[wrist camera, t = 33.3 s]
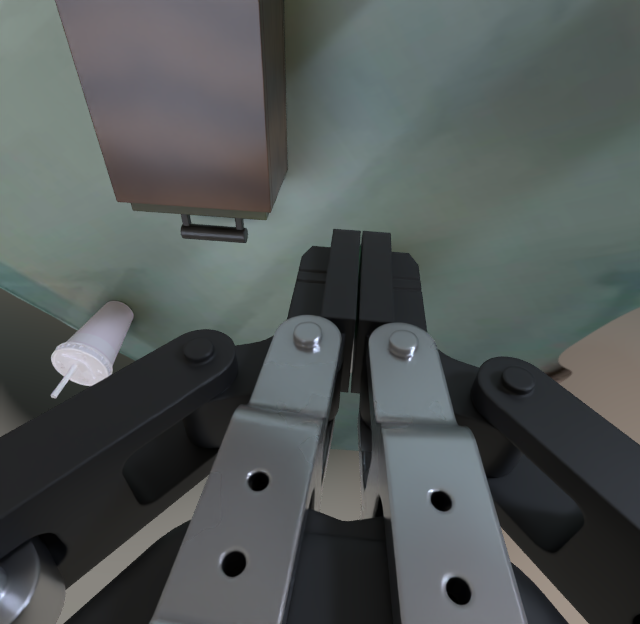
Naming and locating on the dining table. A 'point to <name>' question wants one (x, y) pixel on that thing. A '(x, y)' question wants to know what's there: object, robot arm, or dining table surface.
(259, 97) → the cabinet
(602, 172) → the dining table surface
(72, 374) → the smoothie
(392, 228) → the dining table surface
